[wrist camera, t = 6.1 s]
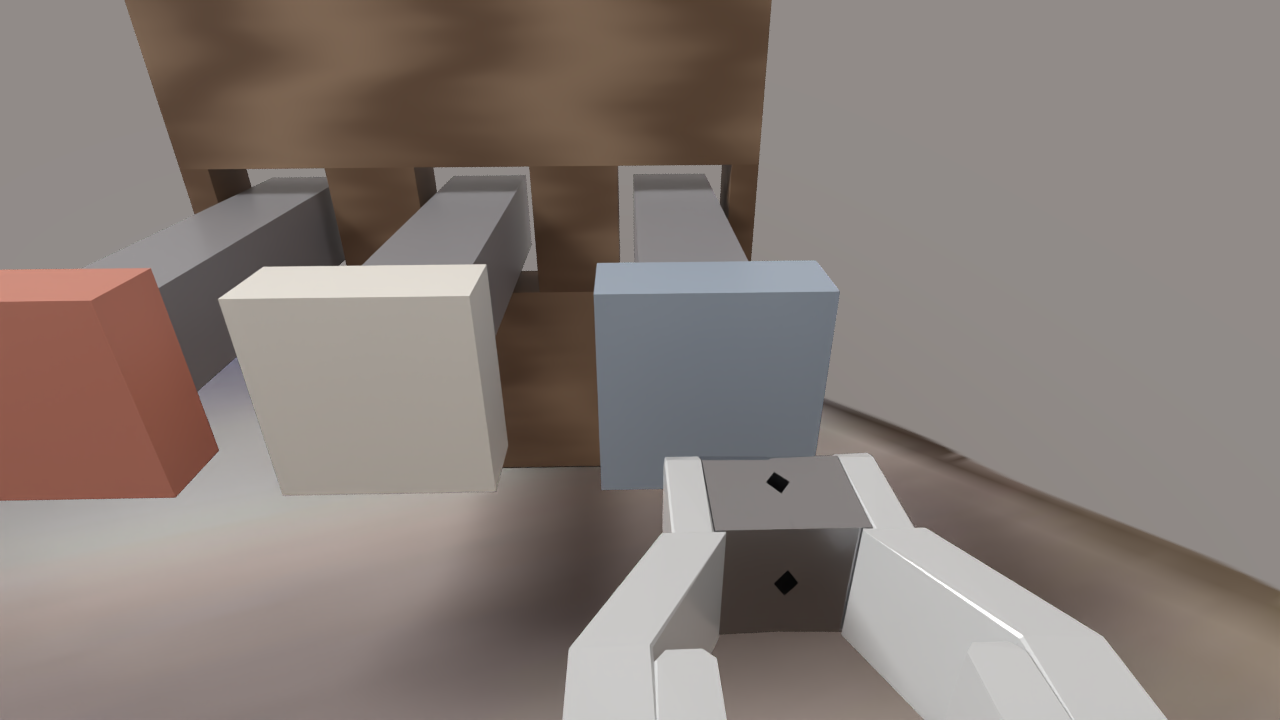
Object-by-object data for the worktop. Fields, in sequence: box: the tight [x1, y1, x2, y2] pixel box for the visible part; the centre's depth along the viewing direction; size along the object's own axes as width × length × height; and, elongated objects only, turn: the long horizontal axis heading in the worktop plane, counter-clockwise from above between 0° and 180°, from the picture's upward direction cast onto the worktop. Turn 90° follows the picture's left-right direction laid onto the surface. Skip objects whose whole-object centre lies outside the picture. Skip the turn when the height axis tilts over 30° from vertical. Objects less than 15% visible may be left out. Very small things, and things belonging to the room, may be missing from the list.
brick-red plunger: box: [0, 177, 345, 501], centre depth 17 cm, size 4×12×4 cm, turn 1°
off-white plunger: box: [218, 175, 532, 496], centre depth 17 cm, size 4×12×4 cm, turn 1°
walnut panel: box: [125, 0, 772, 467], centre depth 22 cm, size 17×2×16 cm, turn 91°
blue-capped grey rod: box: [594, 174, 840, 490], centre depth 17 cm, size 4×12×4 cm, turn 1°
